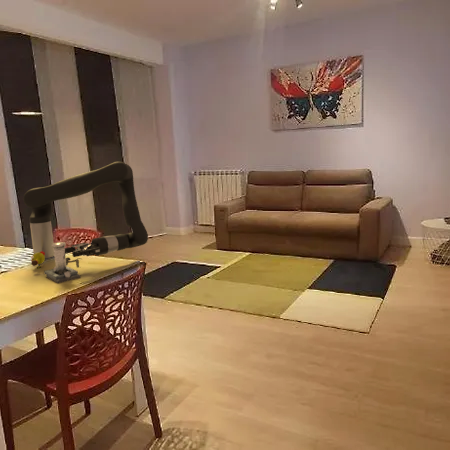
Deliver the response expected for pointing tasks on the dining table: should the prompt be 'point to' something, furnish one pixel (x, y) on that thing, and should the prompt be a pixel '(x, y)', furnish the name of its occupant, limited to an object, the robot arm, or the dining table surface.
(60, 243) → the steel pin
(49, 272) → the chain end upper
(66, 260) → the hacksaw
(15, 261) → the dining table surface
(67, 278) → the chain end lower
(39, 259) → the toy figure
